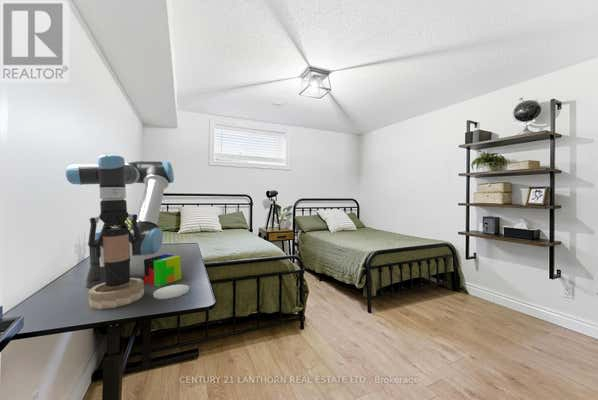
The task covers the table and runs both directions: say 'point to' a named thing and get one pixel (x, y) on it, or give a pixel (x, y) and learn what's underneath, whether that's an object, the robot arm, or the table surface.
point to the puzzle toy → (162, 269)
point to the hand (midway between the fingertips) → (116, 263)
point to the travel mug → (116, 256)
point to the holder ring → (116, 294)
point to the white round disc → (171, 291)
